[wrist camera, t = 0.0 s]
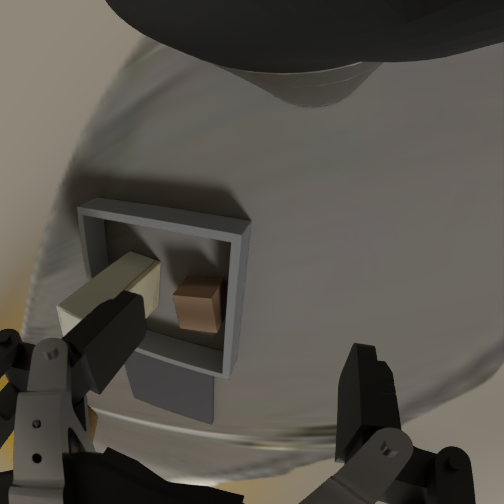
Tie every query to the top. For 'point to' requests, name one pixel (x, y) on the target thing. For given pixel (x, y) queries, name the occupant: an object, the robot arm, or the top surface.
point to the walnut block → (201, 303)
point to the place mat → (171, 387)
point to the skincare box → (113, 288)
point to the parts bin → (186, 223)
